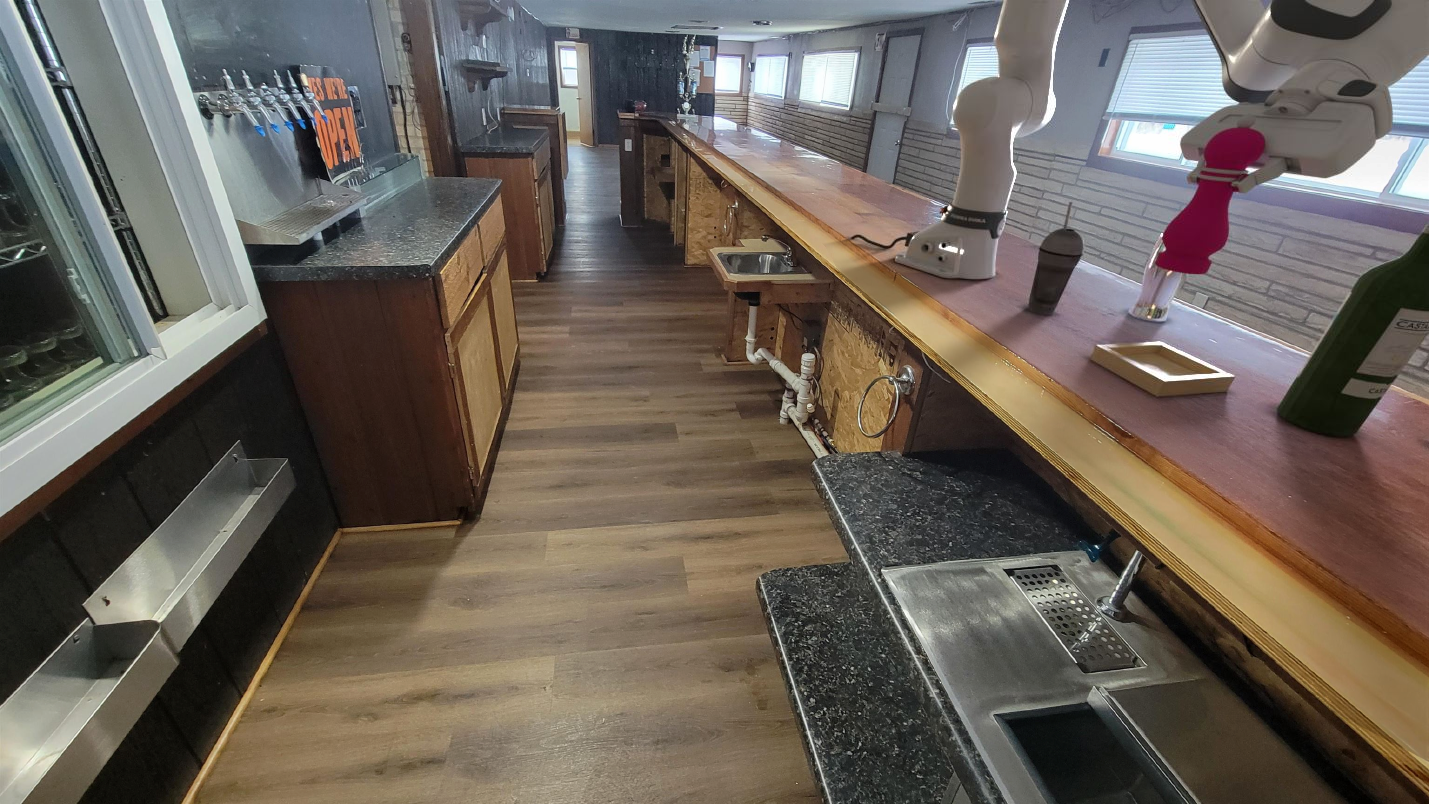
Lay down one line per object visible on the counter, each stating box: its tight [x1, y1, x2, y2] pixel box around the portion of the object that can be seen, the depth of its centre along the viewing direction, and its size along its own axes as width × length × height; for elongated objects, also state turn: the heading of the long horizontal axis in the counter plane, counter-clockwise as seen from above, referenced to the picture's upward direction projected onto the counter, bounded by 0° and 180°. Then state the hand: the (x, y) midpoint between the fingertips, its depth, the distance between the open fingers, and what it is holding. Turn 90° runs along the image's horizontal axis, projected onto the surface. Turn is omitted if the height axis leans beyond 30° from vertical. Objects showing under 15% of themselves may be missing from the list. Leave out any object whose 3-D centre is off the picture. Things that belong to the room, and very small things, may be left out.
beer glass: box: [1128, 233, 1191, 323], centre depth 105 cm, size 7×7×15 cm
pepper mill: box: [1155, 114, 1265, 275], centre depth 77 cm, size 7×7×20 cm
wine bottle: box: [1276, 221, 1429, 438], centre depth 67 cm, size 8×8×30 cm
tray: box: [1089, 341, 1236, 398], centre depth 85 cm, size 12×12×2 cm
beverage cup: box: [1027, 201, 1085, 316], centre depth 104 cm, size 7×7×20 cm
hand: (1214, 185), depth 76 cm, fingers closed on pepper mill, 5 cm apart
